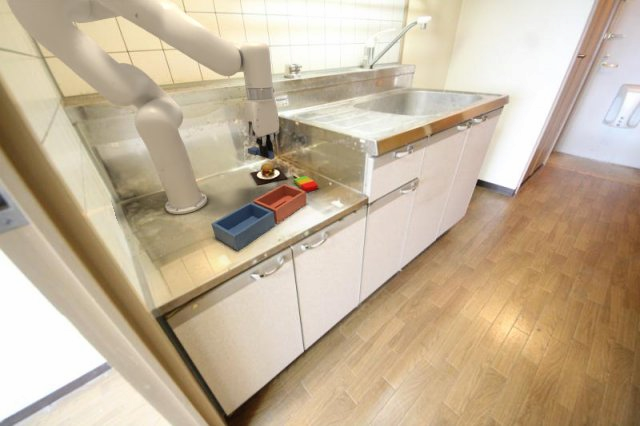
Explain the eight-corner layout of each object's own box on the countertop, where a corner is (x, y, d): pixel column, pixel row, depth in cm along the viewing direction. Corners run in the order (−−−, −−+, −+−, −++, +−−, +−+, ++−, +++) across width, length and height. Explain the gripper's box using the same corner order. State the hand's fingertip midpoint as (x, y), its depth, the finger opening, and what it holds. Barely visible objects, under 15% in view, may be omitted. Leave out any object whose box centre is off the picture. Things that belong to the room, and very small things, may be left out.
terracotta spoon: (288, 199, 85) (288, 193, 84) (295, 202, 84) (295, 196, 83) (267, 212, 79) (266, 206, 77) (274, 216, 77) (273, 209, 76)
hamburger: (278, 168, 109) (277, 155, 106) (287, 179, 100) (286, 166, 97) (250, 173, 105) (248, 161, 102) (257, 185, 95) (255, 172, 92)
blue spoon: (248, 153, 85) (247, 146, 84) (254, 150, 87) (254, 144, 86) (269, 160, 81) (269, 153, 80) (276, 157, 83) (275, 151, 82)
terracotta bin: (255, 213, 79) (252, 200, 77) (285, 195, 88) (283, 183, 86) (277, 223, 75) (275, 210, 72) (306, 204, 84) (305, 191, 81)
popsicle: (305, 192, 90) (305, 188, 89) (287, 177, 101) (287, 173, 100) (319, 188, 92) (318, 184, 91) (300, 174, 103) (299, 170, 102)
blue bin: (215, 237, 70) (210, 223, 67) (253, 214, 79) (250, 201, 76) (237, 251, 65) (234, 236, 62) (275, 225, 74) (273, 211, 71)
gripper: (270, 90, 80) (275, 147, 90) (229, 96, 69) (240, 160, 79) (288, 92, 76) (291, 151, 86) (247, 99, 65) (257, 166, 76)
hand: (267, 155), depth 83 cm, fingers closed on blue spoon, 1 cm apart
